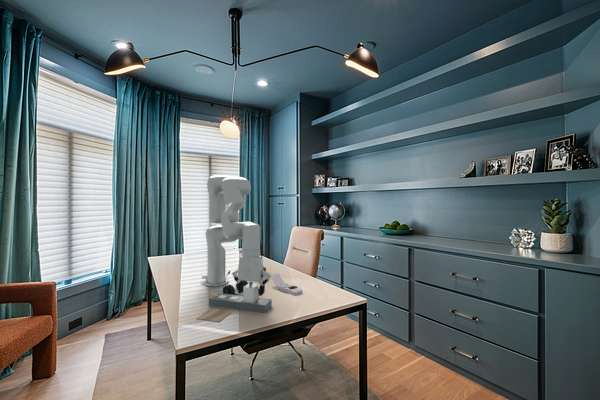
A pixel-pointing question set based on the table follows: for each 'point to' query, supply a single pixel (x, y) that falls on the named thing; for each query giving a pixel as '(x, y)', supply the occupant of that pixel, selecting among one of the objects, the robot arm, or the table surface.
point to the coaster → (214, 315)
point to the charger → (250, 293)
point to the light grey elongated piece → (285, 286)
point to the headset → (230, 289)
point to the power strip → (239, 303)
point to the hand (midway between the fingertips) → (251, 293)
